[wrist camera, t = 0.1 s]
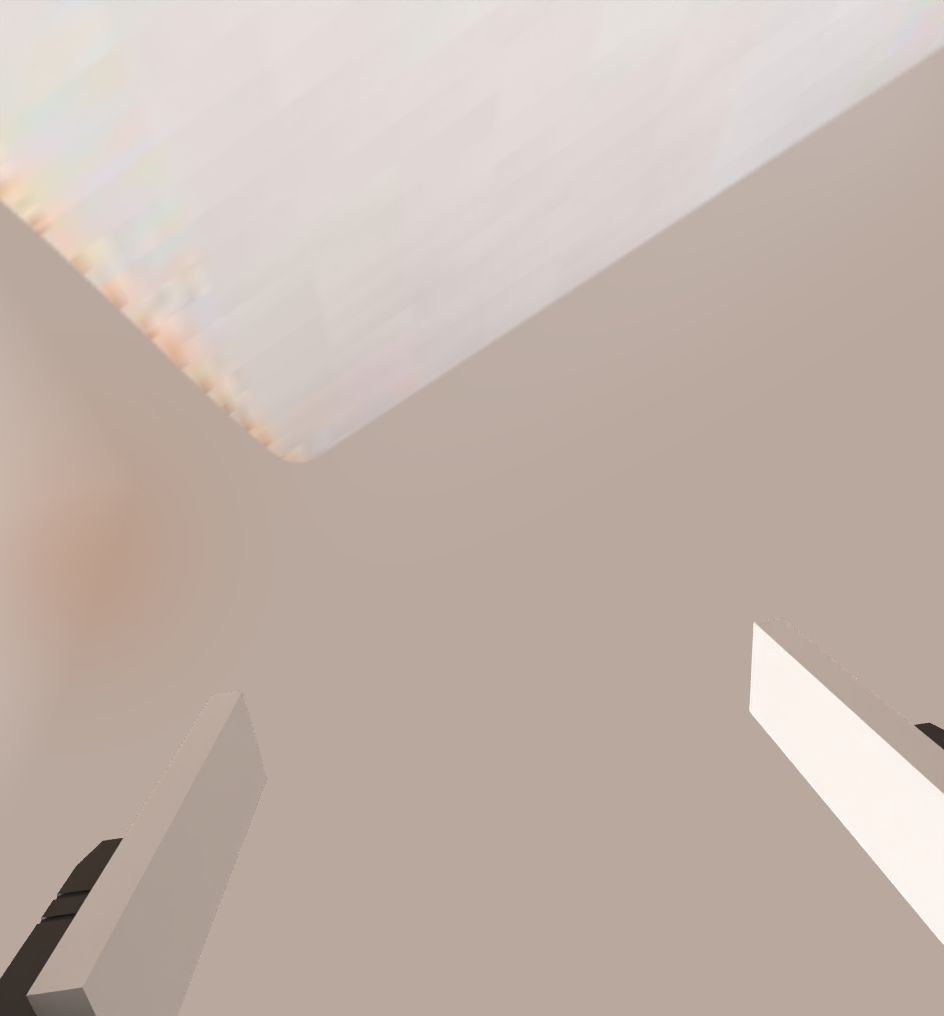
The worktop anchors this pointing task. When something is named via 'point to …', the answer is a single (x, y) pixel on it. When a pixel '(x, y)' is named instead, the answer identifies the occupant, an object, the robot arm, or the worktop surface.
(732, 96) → the worktop surface
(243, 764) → the robot arm
